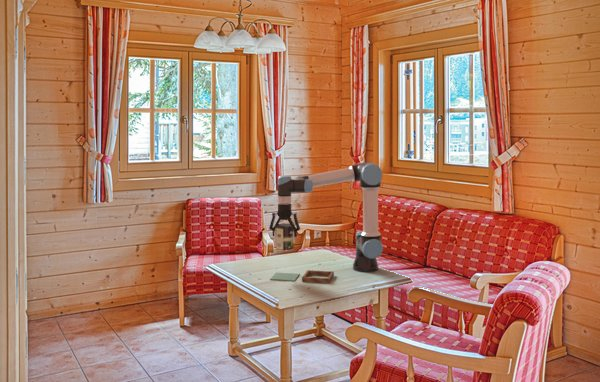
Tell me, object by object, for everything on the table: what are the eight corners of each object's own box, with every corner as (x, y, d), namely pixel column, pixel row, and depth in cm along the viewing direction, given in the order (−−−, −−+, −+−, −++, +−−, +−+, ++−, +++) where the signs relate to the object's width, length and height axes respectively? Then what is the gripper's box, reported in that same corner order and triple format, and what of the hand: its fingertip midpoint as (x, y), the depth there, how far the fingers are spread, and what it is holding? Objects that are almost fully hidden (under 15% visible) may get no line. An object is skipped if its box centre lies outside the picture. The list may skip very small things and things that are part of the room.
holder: (333, 275, 338) (333, 271, 337) (329, 283, 323) (329, 278, 322) (307, 274, 341) (307, 270, 341) (302, 281, 326) (302, 277, 326)
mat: (299, 274, 340) (299, 273, 340) (294, 281, 327) (294, 280, 326) (276, 273, 343) (276, 272, 343) (270, 280, 329) (270, 278, 329)
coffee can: (295, 247, 337) (295, 223, 335) (291, 252, 327) (291, 227, 325) (277, 247, 339) (277, 223, 337) (273, 251, 329) (273, 226, 327)
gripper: (263, 203, 328) (263, 242, 331) (302, 204, 323) (302, 244, 326) (266, 201, 335) (267, 240, 338) (305, 203, 331) (305, 241, 333)
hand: (284, 242), depth 332 cm, fingers closed on coffee can, 10 cm apart
